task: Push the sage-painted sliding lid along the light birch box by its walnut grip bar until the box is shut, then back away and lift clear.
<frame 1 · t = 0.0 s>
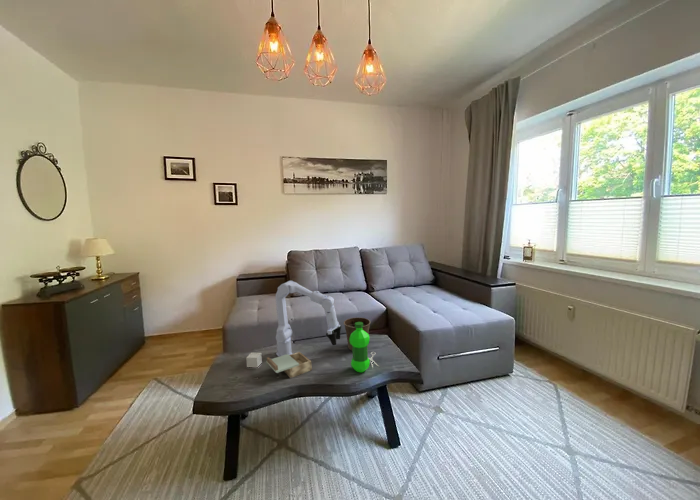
hand: (336, 341, 160), 11 cm above the table, tool pointing down, fingers open, 7 cm apart
plastic bottle: (360, 370, 150), on the table
plant pot: (357, 347, 176), on the table
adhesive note: (254, 365, 159), on the table
lid: (282, 361, 149), point 7 cm above the table, slide at 7.0 cm
scissors: (370, 360, 160), on the table
storage box: (295, 368, 153), on the table
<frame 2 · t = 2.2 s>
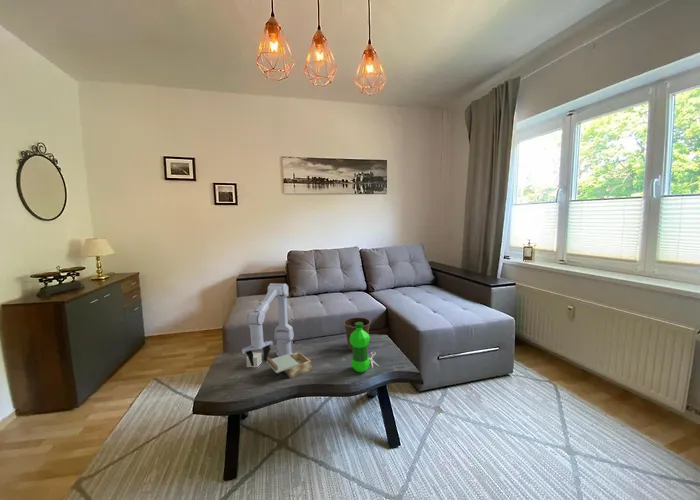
hand: (258, 363, 142), 9 cm above the table, tool pointing down, fingers open, 6 cm apart
nothing on the table moved.
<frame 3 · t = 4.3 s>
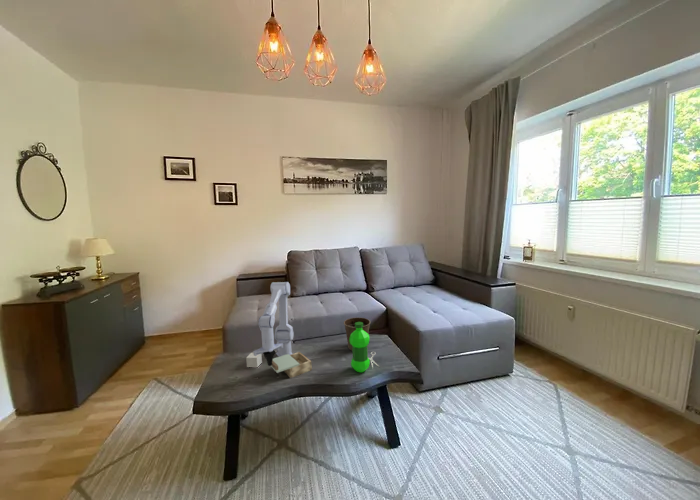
hand: (269, 364, 145), 7 cm above the table, tool pointing down, fingers closed
lid: (282, 360, 149), point 7 cm above the table, slide at 6.7 cm, touching gripper
everything else where it was.
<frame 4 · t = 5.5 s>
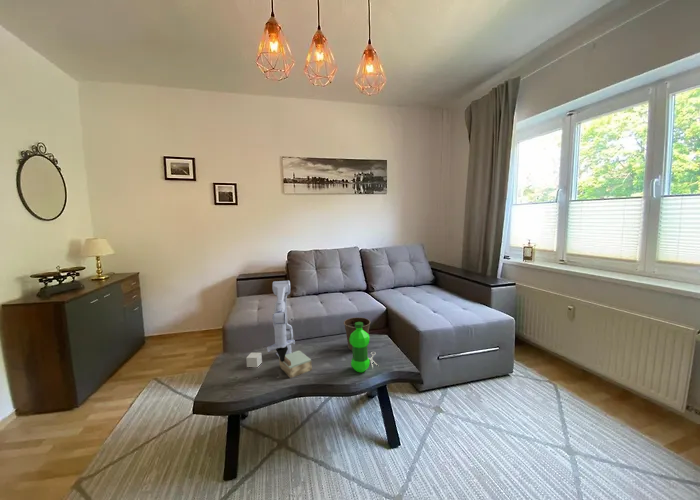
hand: (282, 360, 149), 7 cm above the table, tool pointing down, fingers closed
lid: (294, 357, 153), point 7 cm above the table, slide at 0.1 cm, touching gripper
everything else where it was.
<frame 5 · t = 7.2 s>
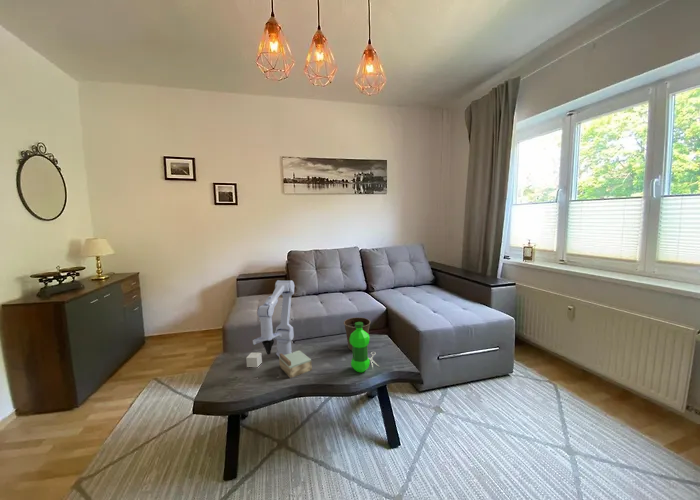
hand: (268, 353, 150), 10 cm above the table, tool pointing down, fingers closed
lid: (294, 357, 153), point 7 cm above the table, slide at 0.0 cm
everything else where it was.
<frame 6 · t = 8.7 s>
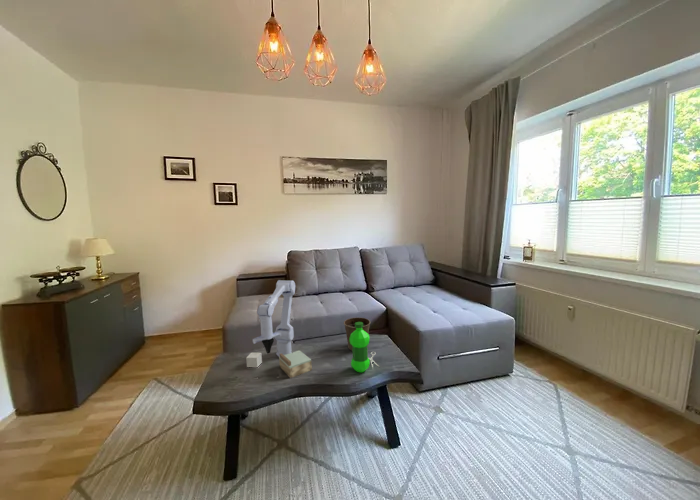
hand: (268, 352, 150), 10 cm above the table, tool pointing down, fingers closed
nothing on the table moved.
at the end: lid slide at 0.0 cm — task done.
